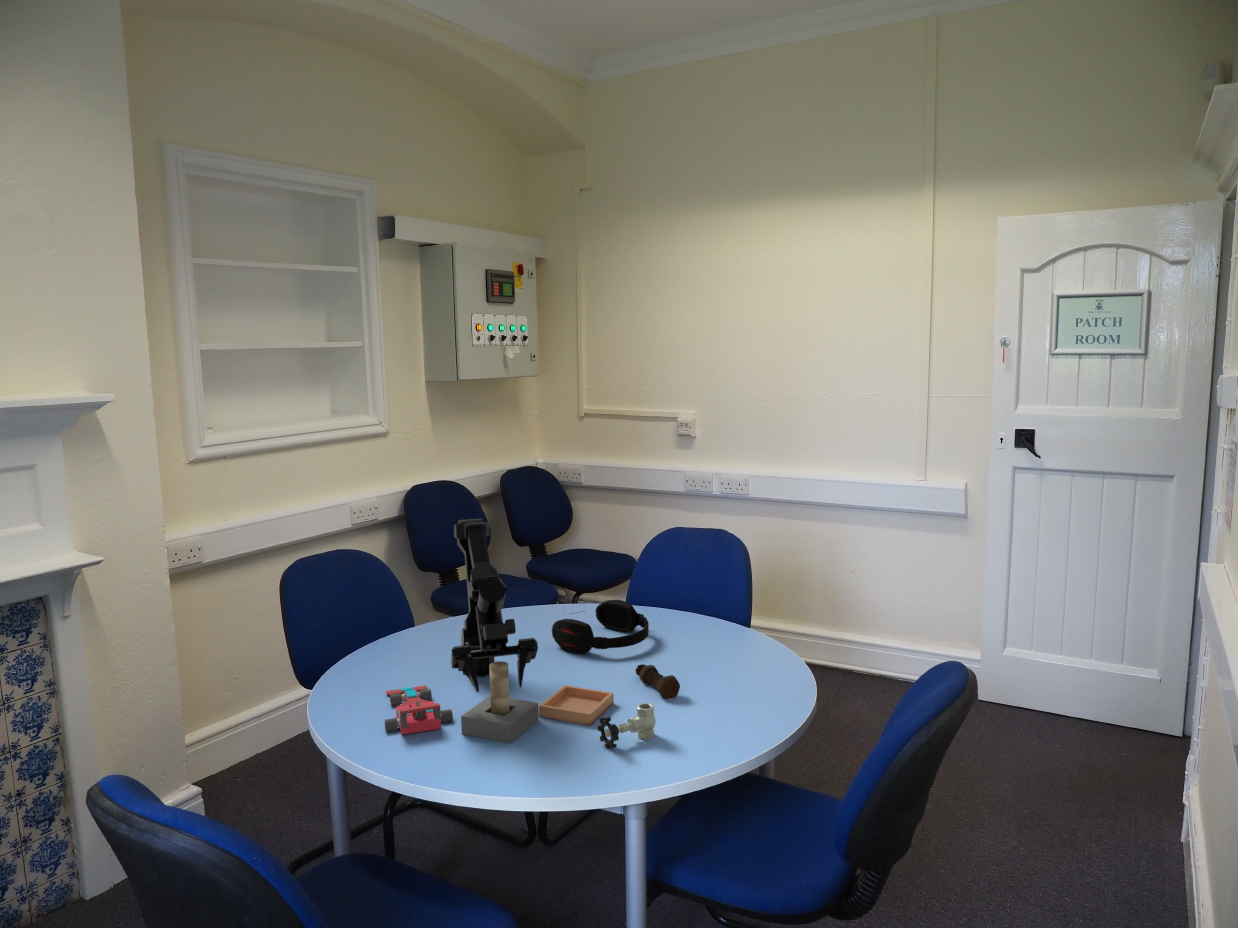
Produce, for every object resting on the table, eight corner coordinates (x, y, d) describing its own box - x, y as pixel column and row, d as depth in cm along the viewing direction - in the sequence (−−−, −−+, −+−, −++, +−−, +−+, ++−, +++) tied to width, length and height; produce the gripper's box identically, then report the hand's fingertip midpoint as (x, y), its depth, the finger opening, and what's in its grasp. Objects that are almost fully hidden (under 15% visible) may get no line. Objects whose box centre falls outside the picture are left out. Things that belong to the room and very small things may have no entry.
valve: (644, 727, 180) (597, 742, 174) (644, 698, 180) (597, 712, 173) (663, 739, 175) (615, 754, 168) (662, 709, 174) (614, 723, 168)
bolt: (643, 683, 210) (673, 703, 196) (627, 676, 207) (656, 696, 194) (653, 662, 210) (683, 680, 197) (637, 655, 208) (667, 673, 195)
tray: (539, 716, 187) (538, 705, 186) (564, 695, 198) (564, 684, 198) (590, 725, 182) (590, 714, 181) (613, 703, 193) (613, 692, 193)
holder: (461, 733, 179) (461, 715, 178) (491, 711, 189) (491, 694, 189) (510, 743, 174) (510, 724, 173) (538, 719, 185) (538, 702, 184)
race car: (435, 664, 204) (454, 702, 181) (436, 687, 205) (455, 729, 182) (375, 672, 199) (386, 713, 176) (376, 696, 200) (388, 740, 177)
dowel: (487, 728, 181) (485, 666, 179) (497, 721, 184) (495, 660, 182) (504, 732, 179) (501, 669, 177) (513, 724, 183) (511, 662, 181)
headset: (567, 623, 252) (566, 594, 251) (654, 625, 248) (654, 597, 247) (545, 656, 225) (544, 624, 224) (642, 659, 221) (642, 627, 220)
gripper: (450, 611, 181) (457, 678, 172) (535, 602, 186) (546, 667, 177) (448, 635, 190) (454, 700, 180) (529, 626, 195) (540, 689, 186)
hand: (499, 688), depth 181 cm, fingers open, 9 cm apart
